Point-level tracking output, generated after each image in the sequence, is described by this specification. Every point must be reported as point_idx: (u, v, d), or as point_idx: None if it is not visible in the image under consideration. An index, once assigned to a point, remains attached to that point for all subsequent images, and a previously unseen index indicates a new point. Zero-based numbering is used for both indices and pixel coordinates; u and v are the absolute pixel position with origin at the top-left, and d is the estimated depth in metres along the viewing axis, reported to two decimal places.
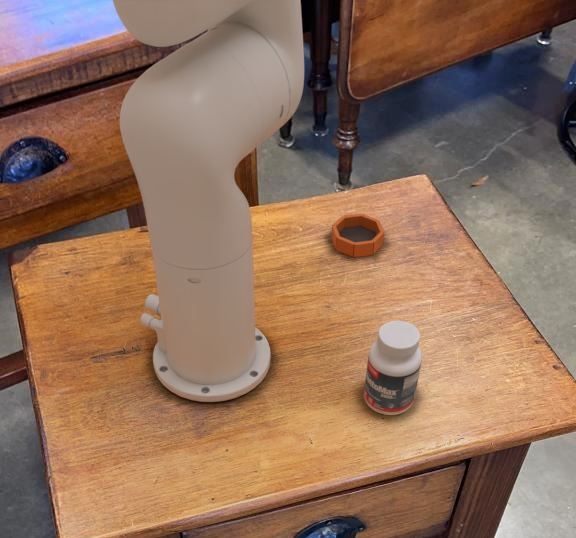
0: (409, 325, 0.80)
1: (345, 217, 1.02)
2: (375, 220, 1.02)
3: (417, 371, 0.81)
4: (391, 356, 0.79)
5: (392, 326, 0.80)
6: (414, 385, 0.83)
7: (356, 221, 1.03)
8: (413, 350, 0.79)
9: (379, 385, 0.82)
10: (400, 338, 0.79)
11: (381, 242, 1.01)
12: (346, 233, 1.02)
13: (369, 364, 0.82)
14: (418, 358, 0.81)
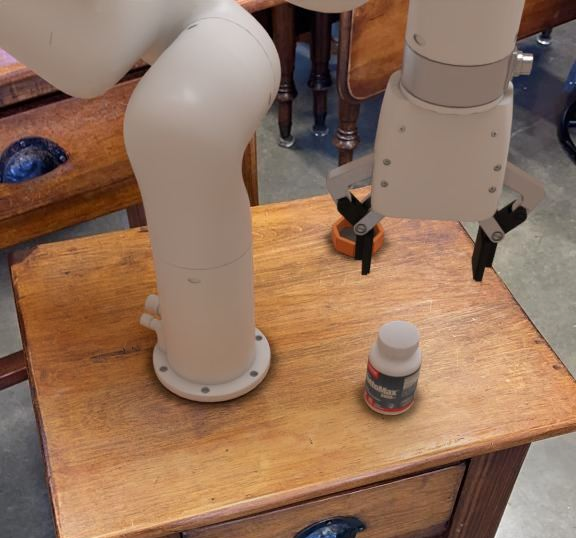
0: (409, 325, 0.80)
1: None
2: None
3: (417, 371, 0.81)
4: (391, 356, 0.79)
5: (392, 326, 0.80)
6: (414, 385, 0.83)
7: None
8: (413, 350, 0.79)
9: (379, 385, 0.82)
10: (400, 338, 0.79)
11: (381, 242, 1.01)
12: (346, 233, 1.02)
13: (369, 364, 0.82)
14: (418, 358, 0.81)
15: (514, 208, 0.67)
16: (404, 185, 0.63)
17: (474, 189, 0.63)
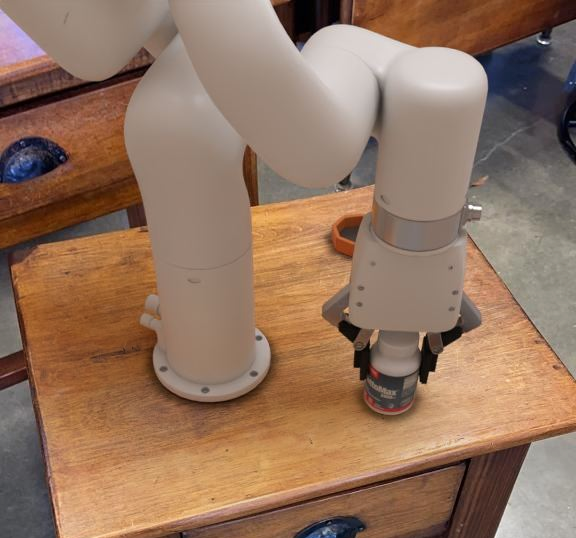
0: None
1: (345, 217, 1.02)
2: None
3: (417, 371, 0.81)
4: (391, 356, 0.79)
5: None
6: (414, 385, 0.83)
7: (356, 221, 1.03)
8: (413, 350, 0.79)
9: (379, 385, 0.82)
10: (400, 338, 0.79)
11: None
12: (346, 233, 1.02)
13: (369, 364, 0.82)
14: (418, 358, 0.81)
15: None
16: (376, 305, 0.74)
17: (436, 308, 0.74)
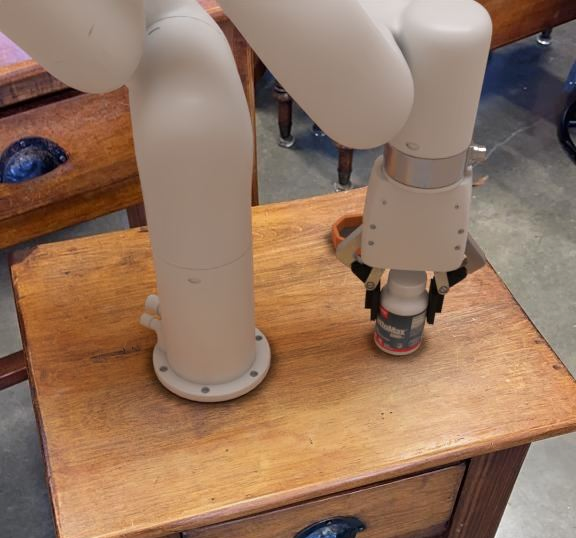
0: None
1: (345, 217, 1.02)
2: None
3: (424, 311, 0.87)
4: (400, 296, 0.85)
5: None
6: (421, 326, 0.88)
7: (356, 221, 1.03)
8: (421, 290, 0.84)
9: (388, 324, 0.87)
10: (409, 278, 0.84)
11: None
12: (346, 233, 1.02)
13: (379, 305, 0.87)
14: (426, 299, 0.86)
15: (458, 267, 0.83)
16: (387, 244, 0.79)
17: (443, 247, 0.79)
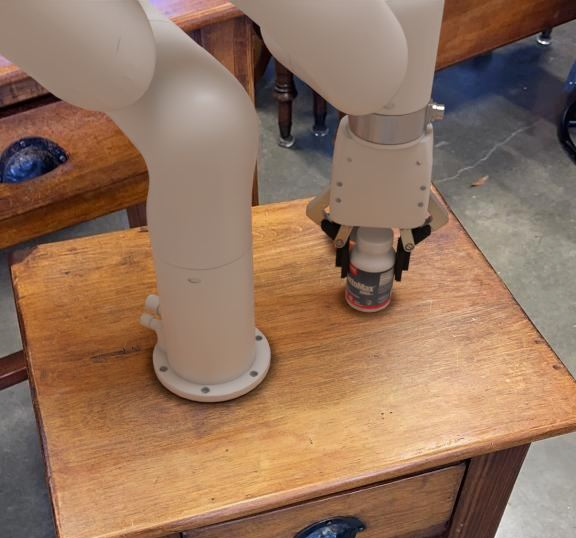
0: None
1: None
2: None
3: (392, 269, 0.91)
4: (368, 253, 0.89)
5: None
6: (390, 283, 0.92)
7: None
8: (388, 247, 0.88)
9: (358, 281, 0.91)
10: (376, 236, 0.88)
11: None
12: None
13: (349, 263, 0.91)
14: (393, 257, 0.90)
15: (423, 224, 0.87)
16: (353, 201, 0.83)
17: (406, 204, 0.83)
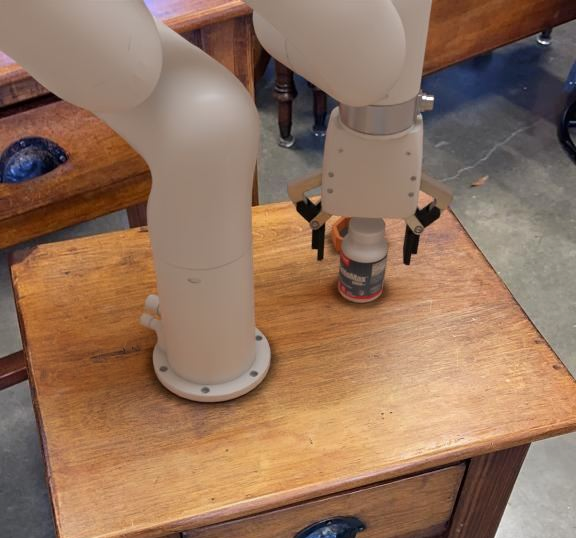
0: None
1: (345, 217, 1.02)
2: None
3: (384, 259, 0.92)
4: (360, 243, 0.90)
5: (361, 217, 0.90)
6: (382, 273, 0.93)
7: None
8: (379, 238, 0.89)
9: (350, 272, 0.92)
10: (368, 227, 0.89)
11: None
12: (346, 233, 1.02)
13: (341, 253, 0.92)
14: (384, 247, 0.91)
15: (430, 208, 0.87)
16: (345, 191, 0.84)
17: (397, 194, 0.84)
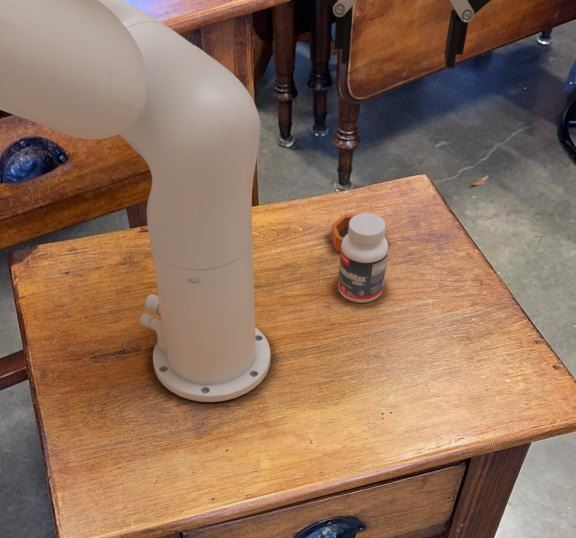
0: (377, 217, 0.90)
1: (345, 217, 1.02)
2: None
3: (384, 259, 0.92)
4: (360, 243, 0.90)
5: (361, 217, 0.90)
6: (382, 273, 0.93)
7: None
8: (379, 238, 0.89)
9: (350, 272, 0.92)
10: (368, 227, 0.89)
11: None
12: (346, 233, 1.02)
13: (341, 253, 0.92)
14: (384, 247, 0.91)
15: None
16: None
17: None
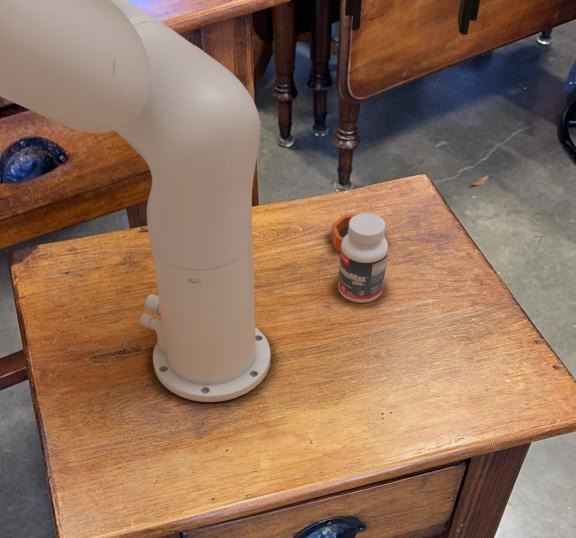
0: (377, 217, 0.90)
1: (345, 217, 1.02)
2: None
3: (384, 259, 0.92)
4: (360, 243, 0.90)
5: (361, 217, 0.90)
6: (382, 273, 0.93)
7: None
8: (379, 238, 0.89)
9: (350, 272, 0.92)
10: (368, 227, 0.89)
11: None
12: (346, 233, 1.02)
13: (341, 253, 0.92)
14: (384, 247, 0.91)
15: None
16: None
17: None
